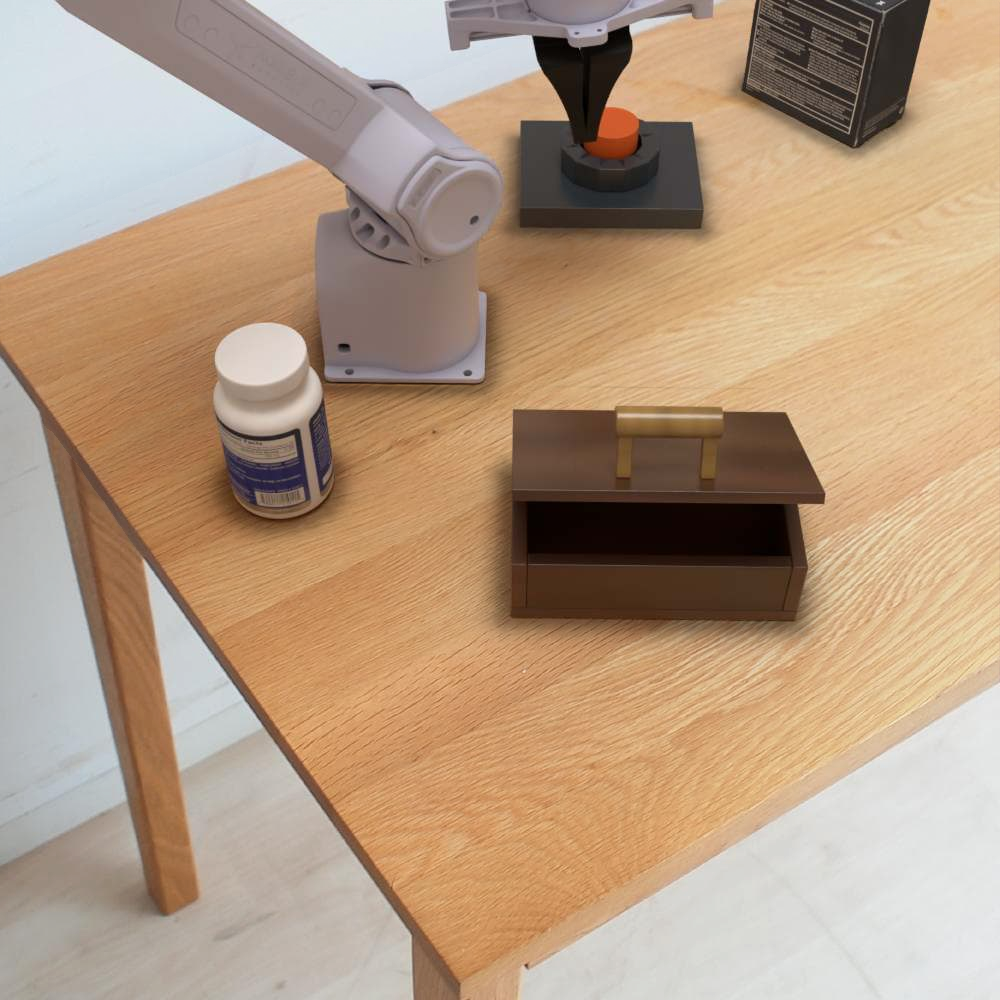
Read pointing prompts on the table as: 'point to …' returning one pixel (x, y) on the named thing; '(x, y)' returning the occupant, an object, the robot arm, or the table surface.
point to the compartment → (656, 560)
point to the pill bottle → (272, 421)
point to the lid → (660, 456)
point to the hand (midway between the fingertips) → (583, 132)
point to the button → (615, 135)
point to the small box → (835, 61)
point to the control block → (609, 180)
